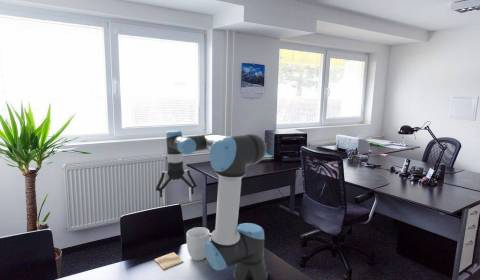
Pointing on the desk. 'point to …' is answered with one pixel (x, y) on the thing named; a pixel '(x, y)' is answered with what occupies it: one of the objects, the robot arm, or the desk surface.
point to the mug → (197, 242)
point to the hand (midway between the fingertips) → (177, 201)
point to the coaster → (168, 260)
